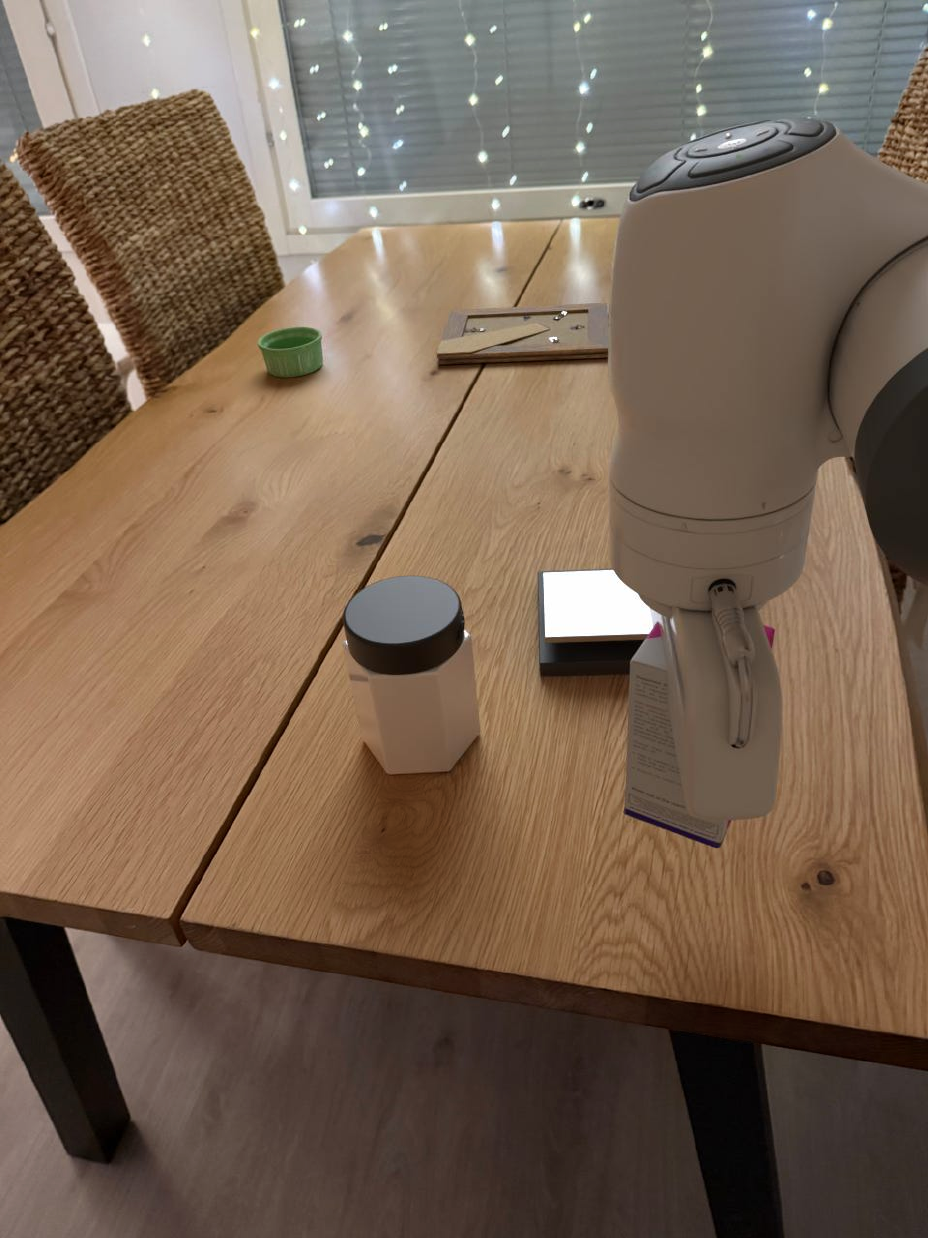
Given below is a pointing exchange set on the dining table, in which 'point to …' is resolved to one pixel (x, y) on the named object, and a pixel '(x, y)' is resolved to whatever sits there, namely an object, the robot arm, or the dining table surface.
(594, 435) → the dining table surface
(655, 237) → the robot arm
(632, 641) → the scale
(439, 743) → the jar
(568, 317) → the picture frame
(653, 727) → the supplement box
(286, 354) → the ramekin
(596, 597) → the scale pan
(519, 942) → the dining table surface
